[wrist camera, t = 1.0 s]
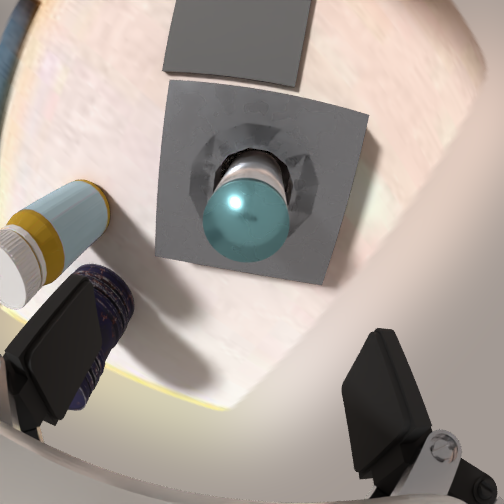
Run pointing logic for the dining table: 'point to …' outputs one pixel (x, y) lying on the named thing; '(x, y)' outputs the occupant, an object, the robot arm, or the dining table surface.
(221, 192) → the plug
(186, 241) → the housing
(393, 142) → the dining table surface
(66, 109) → the dining table surface
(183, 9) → the mat
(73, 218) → the bottle
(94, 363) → the storage jar
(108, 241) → the dining table surface
